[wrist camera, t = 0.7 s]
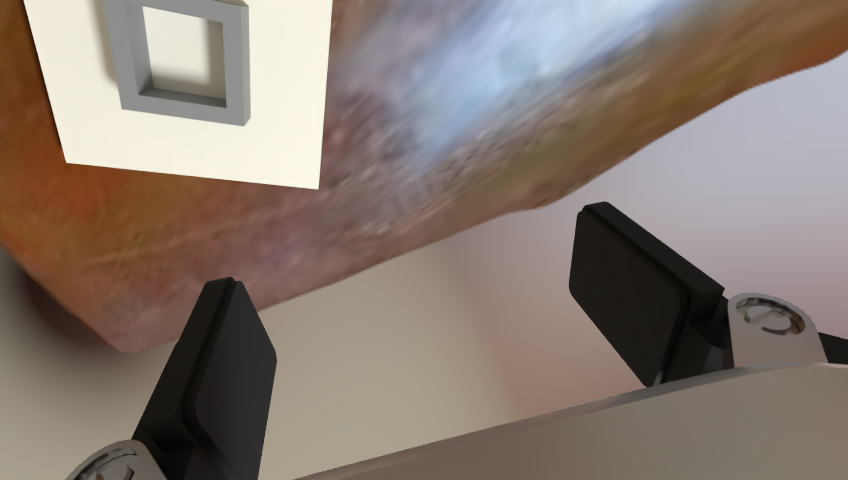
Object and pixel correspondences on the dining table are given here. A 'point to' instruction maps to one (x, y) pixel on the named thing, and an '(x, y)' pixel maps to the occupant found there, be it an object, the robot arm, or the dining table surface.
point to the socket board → (188, 85)
